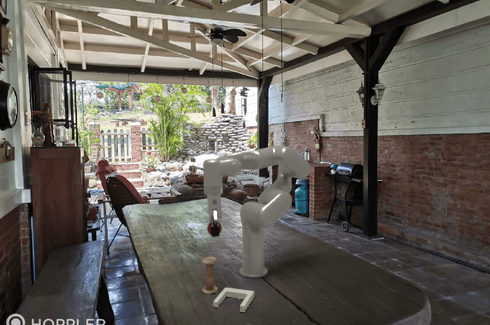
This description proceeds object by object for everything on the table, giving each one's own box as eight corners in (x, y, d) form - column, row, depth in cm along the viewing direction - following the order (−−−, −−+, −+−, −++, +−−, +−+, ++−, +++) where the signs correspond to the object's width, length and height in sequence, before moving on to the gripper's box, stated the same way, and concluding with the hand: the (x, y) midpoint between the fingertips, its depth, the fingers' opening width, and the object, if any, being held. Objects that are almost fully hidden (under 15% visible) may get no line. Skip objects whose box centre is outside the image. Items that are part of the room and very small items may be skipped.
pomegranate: (224, 237, 140) (223, 218, 139) (211, 240, 137) (210, 220, 136) (218, 234, 145) (217, 215, 144) (205, 236, 142) (204, 217, 142)
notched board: (225, 293, 134) (225, 287, 134) (254, 297, 130) (254, 291, 130) (213, 308, 123) (213, 301, 122) (244, 313, 119) (244, 306, 119)
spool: (206, 287, 140) (205, 255, 139) (220, 289, 138) (219, 257, 137) (199, 293, 134) (199, 261, 133) (214, 295, 132) (213, 262, 131)
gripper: (225, 193, 132) (226, 239, 133) (220, 186, 148) (221, 227, 150) (205, 194, 130) (206, 241, 132) (202, 187, 147) (204, 228, 149)
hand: (214, 233), depth 141 cm, fingers closed on pomegranate, 5 cm apart
